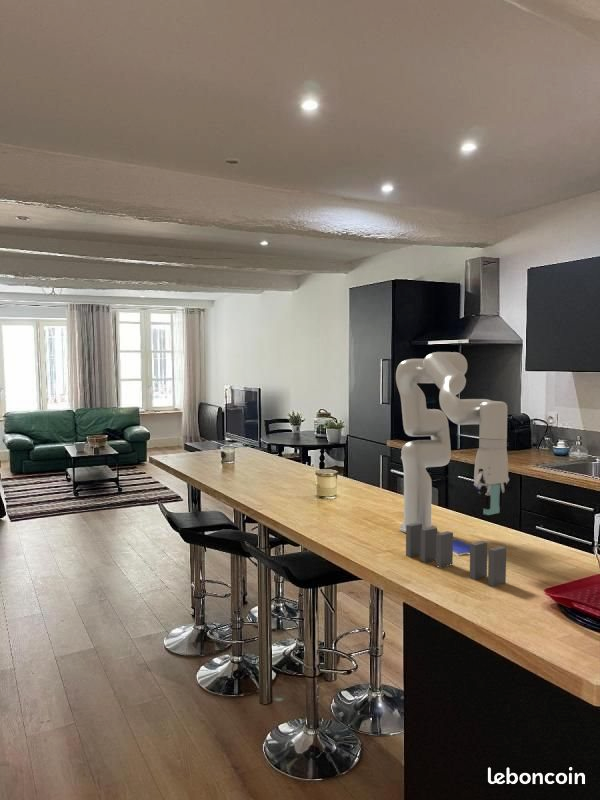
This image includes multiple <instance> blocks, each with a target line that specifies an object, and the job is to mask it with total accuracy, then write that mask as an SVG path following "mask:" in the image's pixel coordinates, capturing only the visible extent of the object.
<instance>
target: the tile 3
mask: <svg viewBox="0 0 600 800" xmlns="http://www.w3.org/2000/svg"><path fill="white" fill-rule="evenodd" d="M453 540H454V532H453V531H448V530H446V531H443V532H439V533H438V532H437V534H436V560H435V567H436V566H439V567H443V568H445V567H444V566H447V565H450V564H453V558H454V557H453V554H454V553H453ZM450 566H451V565H450ZM439 567H438V568H439ZM447 567H448V566H447Z"/></svg>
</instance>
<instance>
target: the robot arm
mask: <svg viewBox="0 0 600 800" xmlns="http://www.w3.org/2000/svg"><path fill="white" fill-rule="evenodd" d="M467 371H468V361H467V359H466V357H465V356H464V355H463V354H461V353H460V352H456V351H453V352H451V351H436V352H435V351H434V352H432V353H429V354H427V355H426V356H425V357H424V358H410V359H409V358H408V359H405V360H402V361H401V362H400V363H399V364H398V365H397V368H396V372H395V383H396V387H397V389H398V392H399V396H400V403H401V404H400V405H401V414H402V426H403V431H404V434H406V435H407V436H408V437H430V439H417V440H411V441H407V442H406V443H404V445H403V446H402V448H401V452H400V453H401V454H400V455H401V462H402V467H403V523H401V524H400V525H398V528H399V531H400V532H402V533H405V534H406V525H409V524H413V523H421V524H422V529H424V528H429V527H435V528H436V526H434V525H433V524H432V493H433V492H432V490H433V489H432V486H433V485H432V483H433V482H432V477H431V476H430V473H429V472H428V471H427V468H437V467H444V466H447V465H448V464H449V463H450V460H451V456H452V450H451V449H452V448H451V437H450V427H449V420H450V421H451V422H452V423H454V424H456V425H459V426H465V425H467V426H468V425H479V431H478V432H479V433H478V434H479V435H478V436H479V439H478V449H477V451H476V456H475V461H474V472H473V480H474V481H473V482H474V483H473V486H474V487H475V488H476V489H477V491H478V494H479V508H480V509H483V508H484V509H488V510H489V509H490V504H491V496H490V495H489V492H490V487H491V485H494V484H500V504H499V506H500V508H502V507H503V506H504V493H505V488H506V487H507V485H508V483H509V481H510V477H509V460H508V459H509V458H508V449H507V447H508V445H507V444H508V442H507V441H508V405H507V403H506V402H504V401H500V400H499V401H498V400H497V401H496V400H492V399H489V398H488V399H487V398H465V399H463V398H462V399H461V398H459V397H458V396H457V395H458V394H461V392H462V391H463V390H464V389H465V386H466V384H467V378H466V377H465V375H466V373H467ZM418 384H435V386H437V388H438V389H439V396H438V401H439V407H440V409H436V408H432V409H431V408H427V401H426V400H427V399H426V396H425V393H424V391H423V390H422V389H421V388H420V386H419V385H418ZM484 482H485V484H484ZM484 486H486V489H485V488H484Z"/></svg>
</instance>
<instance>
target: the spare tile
mask: <svg viewBox="0 0 600 800" xmlns="http://www.w3.org/2000/svg"><path fill="white" fill-rule="evenodd" d="M484 484H485V482H484ZM484 488H485V489H486V486H484ZM489 495H490V496H491V504H490V509H489V510H488V509H484V508H482V510H483V513H482V515H487V516H491V515H495V514H500V509H501V507H500V506H499V504H500V484H494V485H491V487H490V492H489Z"/></svg>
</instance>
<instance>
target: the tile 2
mask: <svg viewBox="0 0 600 800" xmlns="http://www.w3.org/2000/svg"><path fill="white" fill-rule="evenodd" d="M436 534H438V527H436V526H435V527H429V528H424V529H421V555H420V562H422V563H425V562H426V563H429V562H433V561H436V560H435V559H436ZM432 560H433V561H432Z"/></svg>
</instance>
